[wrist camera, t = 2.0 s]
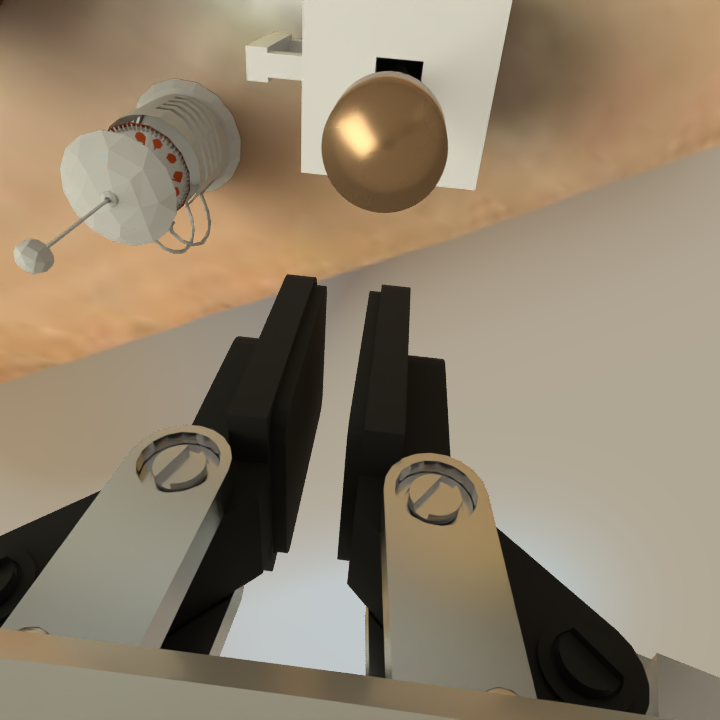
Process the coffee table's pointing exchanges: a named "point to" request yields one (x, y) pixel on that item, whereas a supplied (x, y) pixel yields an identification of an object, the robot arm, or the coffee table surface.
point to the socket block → (393, 65)
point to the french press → (145, 169)
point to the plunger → (385, 142)
